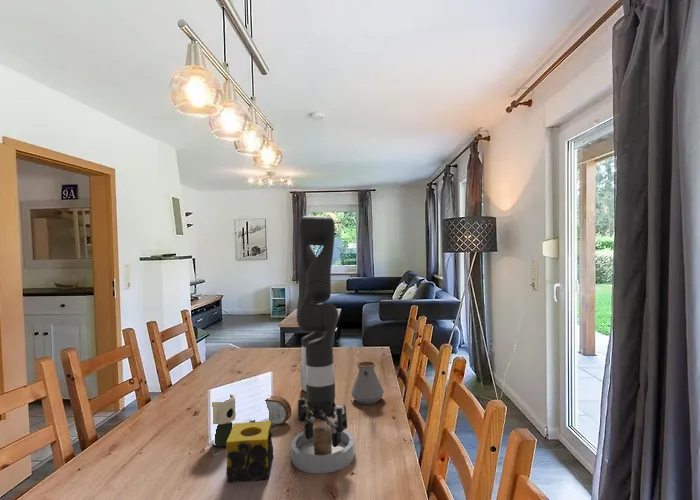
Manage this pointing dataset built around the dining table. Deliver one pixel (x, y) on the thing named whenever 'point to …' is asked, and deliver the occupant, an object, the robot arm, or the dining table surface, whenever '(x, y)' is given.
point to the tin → (278, 410)
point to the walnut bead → (322, 440)
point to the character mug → (223, 419)
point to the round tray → (322, 463)
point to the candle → (249, 452)
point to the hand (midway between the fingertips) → (322, 441)
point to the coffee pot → (367, 384)
